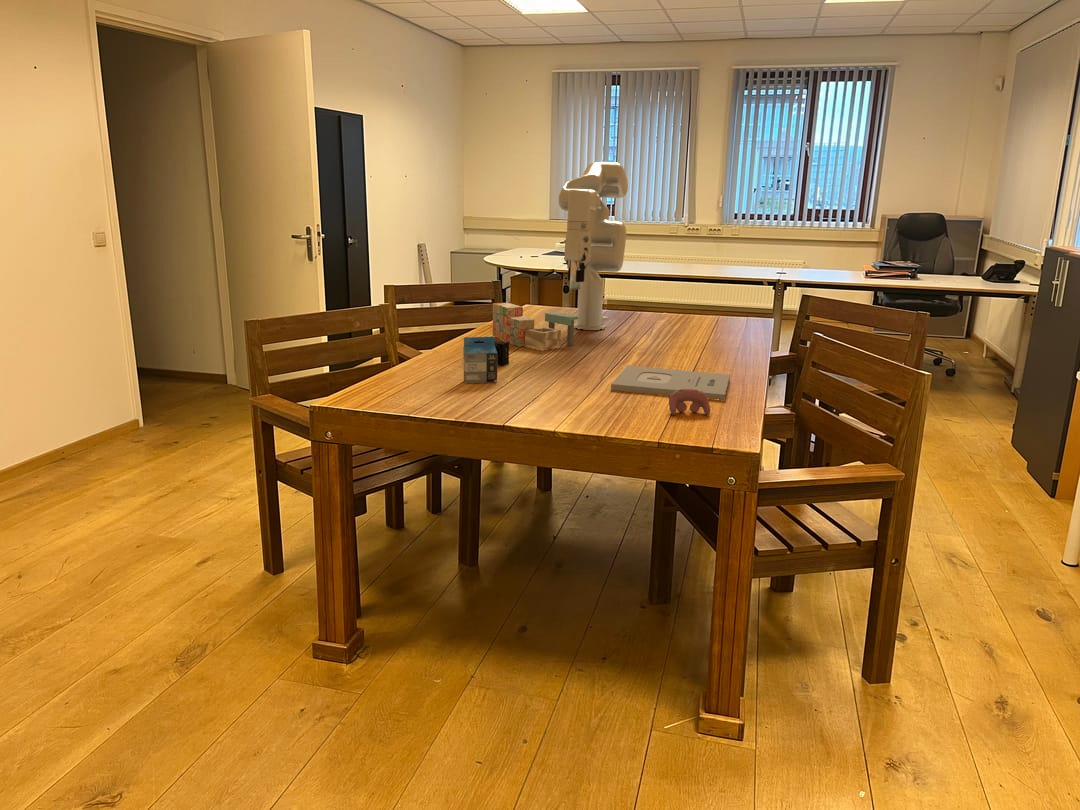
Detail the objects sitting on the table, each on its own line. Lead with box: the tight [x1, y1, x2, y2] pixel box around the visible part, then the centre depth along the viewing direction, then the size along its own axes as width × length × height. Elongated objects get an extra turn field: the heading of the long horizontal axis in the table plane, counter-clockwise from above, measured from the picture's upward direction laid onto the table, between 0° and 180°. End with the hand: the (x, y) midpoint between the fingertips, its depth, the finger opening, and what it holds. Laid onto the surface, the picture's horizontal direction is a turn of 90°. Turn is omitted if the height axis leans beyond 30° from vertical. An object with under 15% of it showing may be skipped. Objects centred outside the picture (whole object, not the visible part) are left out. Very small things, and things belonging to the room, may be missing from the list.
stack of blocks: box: [492, 302, 535, 348], centre depth 273 cm, size 21×6×12 cm, turn 27°
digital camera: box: [474, 340, 510, 367], centre depth 237 cm, size 10×5×7 cm, turn 66°
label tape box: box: [463, 336, 498, 384], centre depth 214 cm, size 9×4×12 cm, turn 106°
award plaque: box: [610, 365, 731, 401], centre depth 217 cm, size 25×30×2 cm
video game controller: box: [668, 389, 711, 416], centre depth 190 cm, size 10×5×7 cm, turn 92°
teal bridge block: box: [544, 311, 578, 346], centre depth 271 cm, size 4×12×10 cm, turn 46°
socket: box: [524, 326, 562, 352], centre depth 264 cm, size 9×8×6 cm
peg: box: [569, 260, 582, 291], centre depth 269 cm, size 4×4×10 cm
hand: (575, 280), depth 269 cm, fingers closed on peg, 4 cm apart
